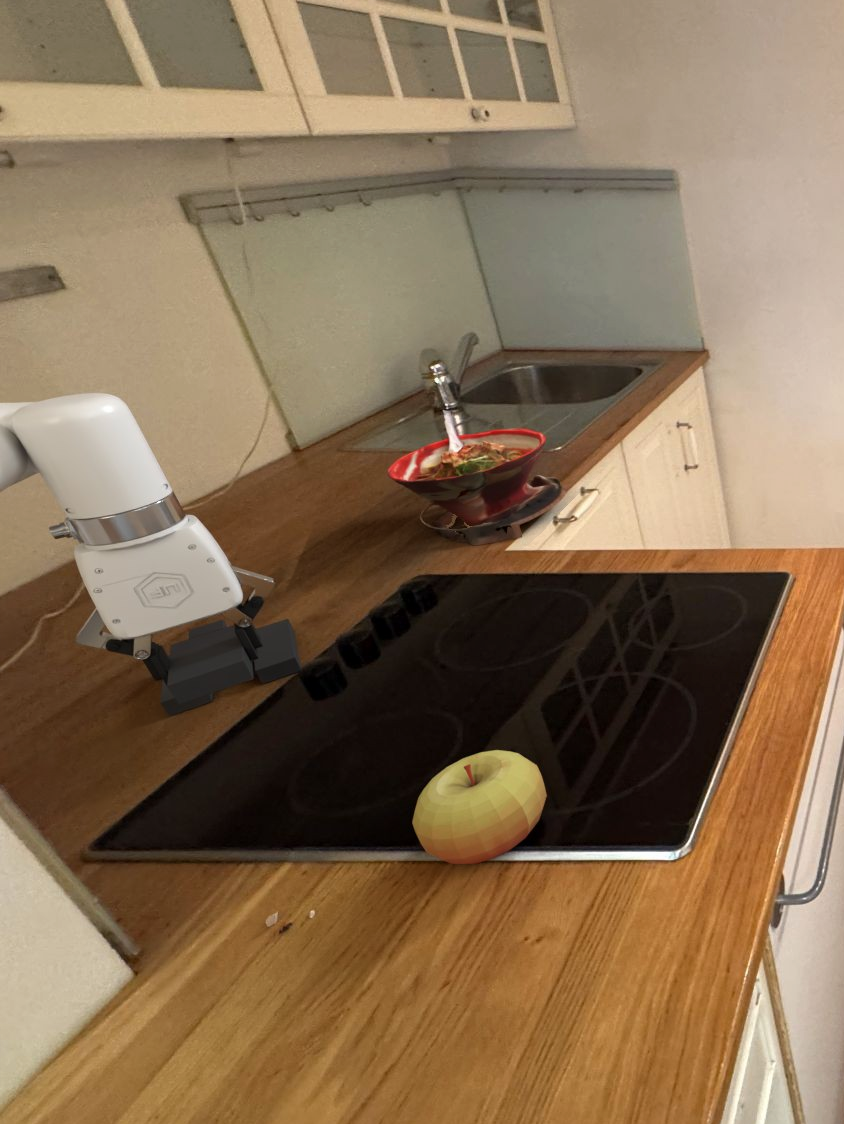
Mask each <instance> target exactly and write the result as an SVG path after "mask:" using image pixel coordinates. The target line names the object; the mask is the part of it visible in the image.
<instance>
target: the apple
mask: <svg viewBox="0 0 844 1124" xmlns="http://www.w3.org/2000/svg"><path fill="white" fill-rule="evenodd" d="M547 797H548V795H547V791H546V787H545V783H544V779H543V776H542V773H541V771H540V769H539V767H538V764H535V763H534V762H533V761H531V760H529V759H528V758H526V757H524V756H523V755H521V754H520V753H518V752H514V751H510V750H509V751H508V750H499V749H495V750H488V751H487V750H486V751H481V752H478V753H475V754H472V755H469V756H466V757H463V758H461V759H459V760H458V761H455V762H454V763H452V764H450V765H448V766H445V768H444V769H442V770H441V771H440V772H438V773H437V774H436V775H434V776H433V777H432V778H431V780H430V781H429V782H428V783H427V784H426V786H425V787H424V788H423V790H422V791H421V792H420V794H419V796H418V798H417V801H416V805H415V809H414V814H413V817H412V826H413V829H414V832H415V834H416V836H417V838H418V841H419V843H420V845H421V846H422V848H423V849H424V851H425V852H426V854H427V855H429V856H432V857H435V858H436V859H439V860H442V861H444V862H446V863H450V864H451V865H475V864H476V865H477V864H479V863H482V862H486V861H490V860H494V859H495V858H497V857H499V856H501V855H503V854H505V853H507V852H509V851H511V850H512V849H514V847H516V846H518V845H519V844H520V843H521V842H522V841H524V840H525V839H526V838H527V837H528V835H530V833H531V832H532V831H533V829H534V828H535V827H536V825H537V824H538V822H540V819H541V816H542V812H543V810H544V806H545V803H546V800H547Z"/></svg>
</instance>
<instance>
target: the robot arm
mask: <svg viewBox="0 0 844 1124" xmlns="http://www.w3.org/2000/svg"><path fill="white" fill-rule="evenodd" d="M36 474H39V475H40V476H41V478H42V480H43V482H44V483H45V484H46V486H47V487H48V489H49V491H50V492H51V495H52V496H53V498H54V499H55V500H56V502H57V504H58V506H59V507H60V509H61V510H62V512H63V514H64V516H65V518H64V520H63V521H61V522H59V524H54V525H49V526H48V529H49V532H50V534H51V536H52V538H54V539H55V540H59V539H64V538H67V539H71V538H73V539H74V540H77V542H78V544H77V545H76V546H75V548H74V549H73V556H74V560H75V564H76V566H77V569H78V572H79V574H80V577H81V579H82V581H83V583H84V586H85V588H86V590H87V592H88V595H89V597H90V598H91V600H92V603H93V605H94V606H95V609H94V610H93V611H92V612H91V614H90V615H89V617H88V619H87V620H86V621H85V623H84V624H83V626H82V627H81V628H80V629H79V631H78V633H77V634H76V638H75V642H76V643H77V644H78V645H82V646H84V647H85V646H86V647H90V648H96V649H103V650H104V649H105V650H107V651H108V652H110V653H111V652H112V653H116V654H121V655H125V656H129V657H133V658H134V659H135V660H138V661H142V662H143V664H144V665H145V667H146V669H147V671H148V672H149V673H150V675H151V677H152V678H153V680H154V682H158V681H161V680H163V681H164V682H165V684H166V686H167V682H168V670H169V657H168V656H169V655H168V653H167V652H166V650H165V648H164V646H163V645H162V644H161V645H160V644H159V643H156V642H155V641H153V635H155V634H158V633H161V632H162V633H163V632H164V631H165V632H166V631H168V630H171V629H175V628H178V627H181V626H185V625H188V624H191V623H196V622H197V621H201V620H204V619H208V618H211V617H215V616H217V615H221V616H223V617H225V618H226V619H228V620H229V621H230V622H232V623H233V625H234V629H235V634H236V636H237V638H238V640H239V642H240V643H241V645H242V647H243V648H244V650H245V652H246V653H247V655H248V657H249V659H250V660H256V659H259V657H258V648H259V647H262V646H263V643H262V640H261V638H260V636H259V634H258V632H257V630H256V628H257V627H256V626H255V625H254V623H253V621H254V619H255V618H256V617H257V615H258V613H259V612H260V610H261V609H262V607H263V606H264V605H265V604H264V603H265V602H266V600H267V599H268V598H269V597H270V595H271V594H272V593H273V591H274V589H275V588H276V580H275V578H274V577H270V576H267V575H264V574H260V573H257V572H253V571H250V570H247V569H244V568H241V567H238V566H234V565H232V563H231V562H230V560H229V559H228V557H227V556H226V554H225V552H224V551H223V549H222V547H221V546H220V545H219V543H218V542H217V540H216V539H215V538H214V535H212V533H211V532H210V531H209V530H208V529H207V527H206V526H205V525H204V524H203V523H202V522H201V521H200V520H199V518H198V517H196V515H193V514H186V512H185V510H184V509H183V506H182V505H181V502H179V499H178V497H177V496H176V494H175V492H174V490H173V488H172V485H171V484H170V482H169V481H168V478H167V477H166V475H165V472H164V471H163V469H162V468H161V466H160V463H159V462H158V460H157V458H156V456H155V454H154V453H153V451H152V449H151V447H150V444H149V442H148V441H147V439H146V438H145V435H144V433H143V432H142V430H141V427H140V425H139V424H138V422H137V420H136V419H135V417H134V415H133V412H132V411H131V410H130V408H129V406H128V405H127V403H126V402H125V401H124V400H123V399H122V398H120V397H119V396H116V395H114V394H110V393H106V392H105V393H104V392H85V393H76V394H69V395H68V394H67V395H62V396H57V397H52V398H47V399H43V400H39V401H22V402H20V401H19V402H0V493H2V492H3V491H5V490H7V489H8V488H9V487H11V486H14V485H16V484H18V483H21V482H23V481H25V480H26V479H28V478H30V477H32V476H35V475H36ZM242 585H243V586H246V587H250V588H253V591H252V593H251V594H250V595H249V596H248V597H247V598H246V599H245V601H244V603H242V602H243V598H244V593H243V589H242ZM105 627H106V629H107V630H108V631H109V632H105V631H104V630H103V629H104V628H105Z"/></svg>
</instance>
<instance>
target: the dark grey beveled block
mask: <svg viewBox="0 0 844 1124" xmlns="http://www.w3.org/2000/svg"><path fill="white" fill-rule="evenodd" d="M169 655H170V657H169V670H168V682H167V687H168V688H169V690H170V691H171V693H172V695H173V696H174V698H175V700H176V701H177V703H178V704H179V705H180V704H183V703H185V702H188V701H191V700H194V699H197V698H200V697H203V696H206V695H209V694H211V693H213V694H214V693H217V692H220V691H223V690H227V689H229V688H231V687H235V686H237V685H241V684H243V683H246V682H249V681H251V680H254V676H253V666H252V660H250V659H249V657H248V655H247V653H246V652H245V650H244V648H243V647H242V645H241V643H240V642H239V640H238V638H237V636H236V634H235V629H234V624H233V625H230V626H228V625H227V623H226V620H224V619H220V620H217V621H213V622H210V623H207V624H203V625H199V626H197V627H193V628H190V629H189V630H188V638H187V639H185V640H181V641H178V642H175V643H172V644H170V646H169Z"/></svg>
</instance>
